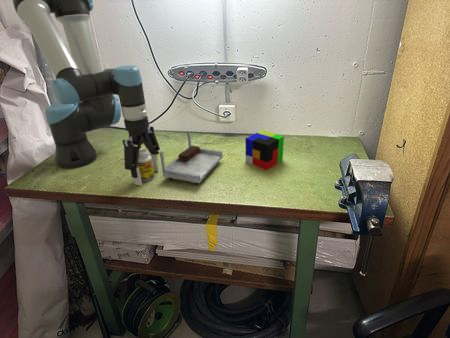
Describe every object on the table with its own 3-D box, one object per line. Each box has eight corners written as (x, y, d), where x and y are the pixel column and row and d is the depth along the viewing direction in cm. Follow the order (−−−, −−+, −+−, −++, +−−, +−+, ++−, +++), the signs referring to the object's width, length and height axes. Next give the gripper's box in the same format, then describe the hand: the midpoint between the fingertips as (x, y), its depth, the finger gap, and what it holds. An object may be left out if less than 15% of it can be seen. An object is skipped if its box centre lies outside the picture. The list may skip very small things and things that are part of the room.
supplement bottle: (138, 182, 105) (133, 156, 100) (139, 175, 109) (134, 149, 104) (155, 180, 106) (150, 154, 101) (154, 173, 110) (150, 147, 106)
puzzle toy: (245, 162, 115) (245, 138, 110) (261, 153, 121) (261, 130, 117) (267, 170, 109) (267, 145, 104) (282, 160, 115) (283, 136, 110)
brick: (187, 167, 112) (186, 156, 109) (178, 165, 113) (177, 154, 111) (202, 156, 120) (201, 145, 118) (194, 154, 122) (193, 144, 119)
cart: (163, 180, 105) (159, 152, 100) (190, 156, 121) (188, 130, 116) (199, 187, 100) (197, 158, 95) (222, 161, 116) (221, 134, 111)
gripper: (122, 130, 86) (136, 195, 97) (164, 107, 104) (172, 164, 115) (102, 127, 89) (117, 191, 100) (146, 106, 107) (155, 162, 118)
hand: (147, 177), depth 107 cm, fingers open, 9 cm apart
